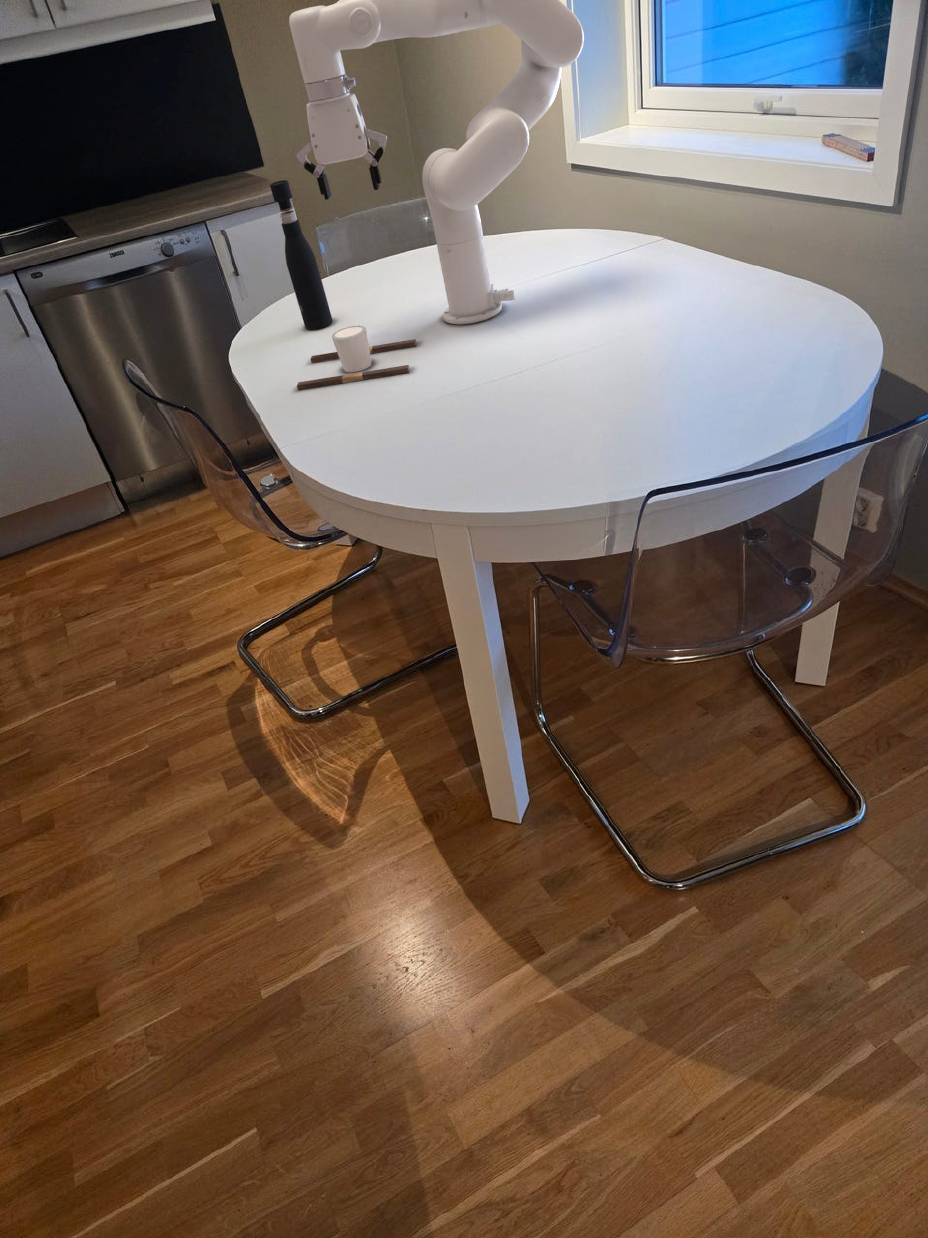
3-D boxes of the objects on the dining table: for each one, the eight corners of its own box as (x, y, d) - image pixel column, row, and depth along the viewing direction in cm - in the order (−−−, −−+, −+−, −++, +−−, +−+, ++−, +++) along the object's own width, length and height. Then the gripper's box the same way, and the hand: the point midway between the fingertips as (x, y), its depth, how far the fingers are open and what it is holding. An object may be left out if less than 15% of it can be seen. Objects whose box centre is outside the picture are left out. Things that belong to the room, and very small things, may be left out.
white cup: (367, 372, 169) (358, 336, 165) (335, 374, 171) (326, 340, 167) (379, 357, 174) (370, 323, 170) (347, 360, 176) (338, 326, 172)
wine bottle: (338, 319, 199) (299, 176, 182) (323, 330, 195) (282, 185, 177) (315, 319, 202) (275, 179, 184) (300, 330, 198) (257, 188, 180)
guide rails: (416, 343, 177) (415, 338, 177) (408, 372, 165) (407, 367, 165) (313, 360, 180) (311, 355, 180) (298, 390, 169) (296, 385, 168)
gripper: (377, 77, 158) (398, 180, 168) (286, 97, 160) (312, 197, 171) (371, 83, 152) (394, 189, 162) (277, 103, 155) (305, 206, 165)
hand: (352, 193), depth 166 cm, fingers open, 9 cm apart
